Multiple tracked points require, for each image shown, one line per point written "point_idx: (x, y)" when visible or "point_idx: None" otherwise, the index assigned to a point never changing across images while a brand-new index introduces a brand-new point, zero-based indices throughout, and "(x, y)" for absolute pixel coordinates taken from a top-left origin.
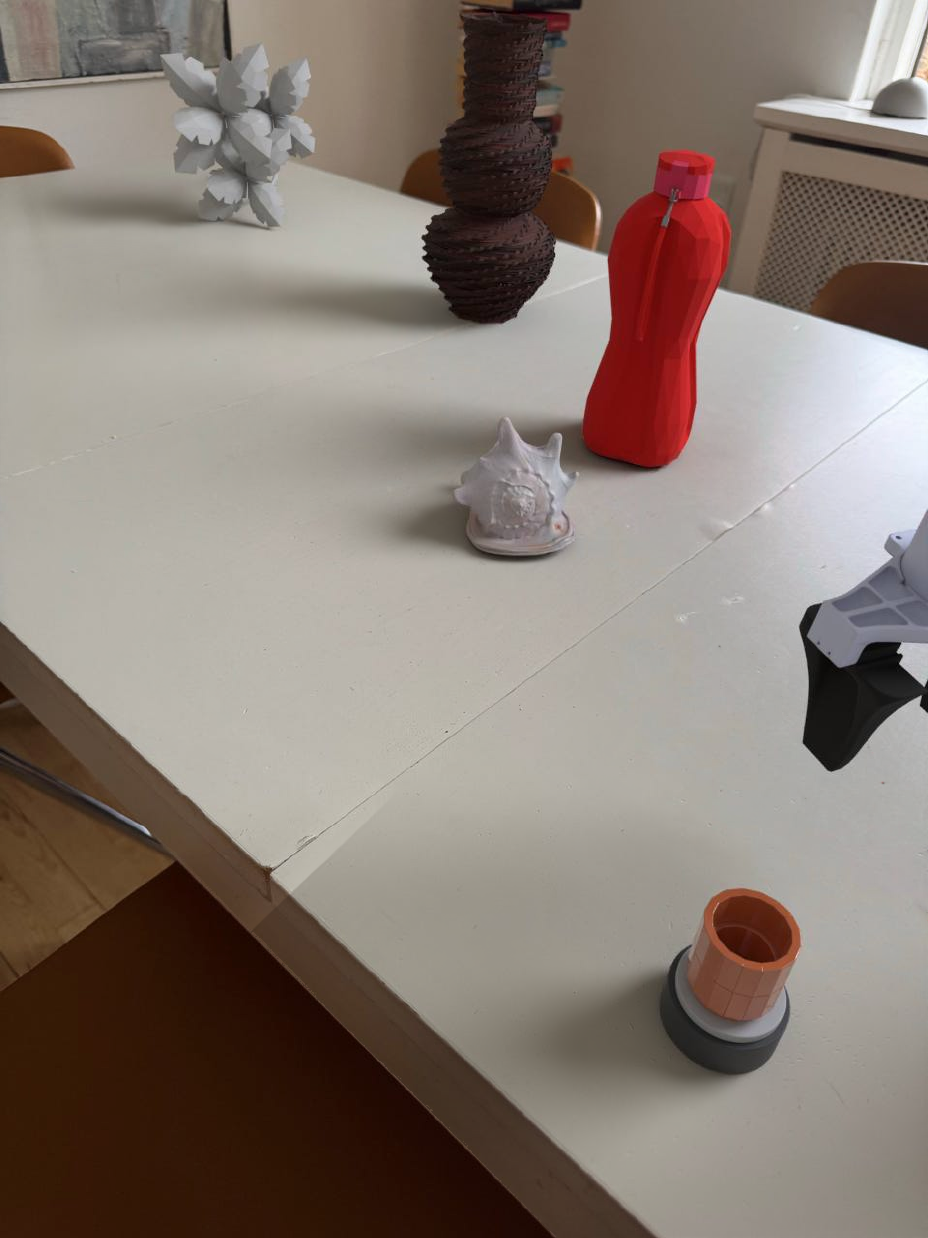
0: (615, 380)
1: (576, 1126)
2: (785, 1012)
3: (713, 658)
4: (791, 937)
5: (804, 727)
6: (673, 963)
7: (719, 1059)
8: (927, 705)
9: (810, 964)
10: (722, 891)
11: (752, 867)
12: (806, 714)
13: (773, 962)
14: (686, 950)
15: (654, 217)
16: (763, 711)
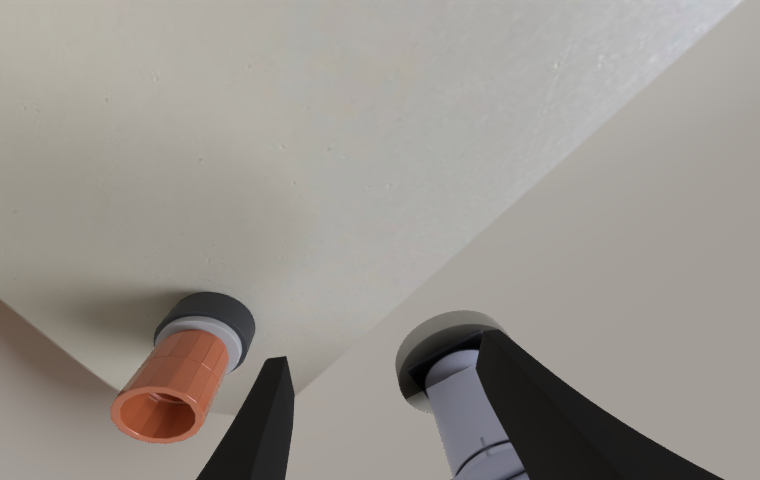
0: None
1: (88, 355)
2: (237, 364)
3: None
4: (192, 425)
5: (257, 377)
6: (166, 320)
7: None
8: (486, 345)
9: (300, 311)
10: (144, 386)
11: (306, 235)
12: (245, 400)
13: (163, 439)
14: (180, 315)
15: None
16: (451, 56)
